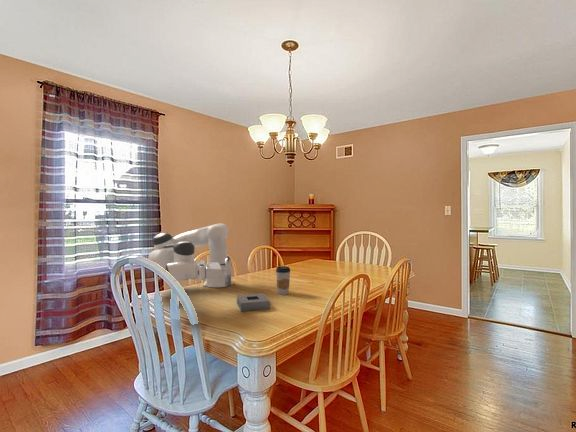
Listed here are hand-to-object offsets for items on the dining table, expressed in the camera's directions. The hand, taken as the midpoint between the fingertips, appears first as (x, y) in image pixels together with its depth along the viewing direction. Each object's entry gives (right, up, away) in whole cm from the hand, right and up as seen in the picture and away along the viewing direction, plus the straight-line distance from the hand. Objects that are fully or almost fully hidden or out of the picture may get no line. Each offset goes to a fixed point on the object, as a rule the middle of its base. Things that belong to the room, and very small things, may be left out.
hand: (230, 268), depth 153 cm
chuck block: (+11, -19, +1) cm, 22 cm away
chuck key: (-1, -8, 0) cm, 8 cm away
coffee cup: (+26, -19, +25) cm, 40 cm away
